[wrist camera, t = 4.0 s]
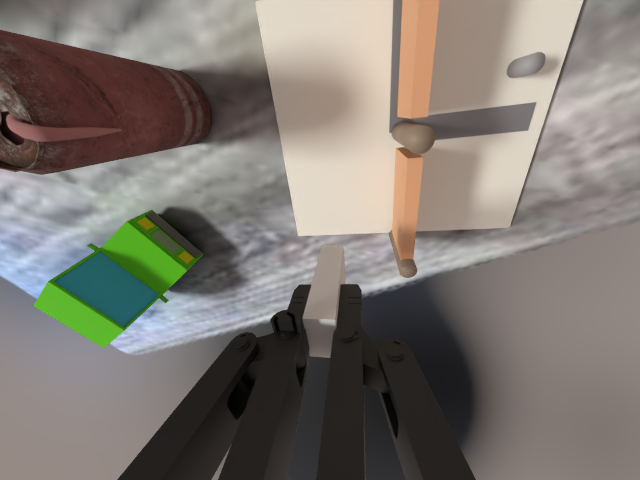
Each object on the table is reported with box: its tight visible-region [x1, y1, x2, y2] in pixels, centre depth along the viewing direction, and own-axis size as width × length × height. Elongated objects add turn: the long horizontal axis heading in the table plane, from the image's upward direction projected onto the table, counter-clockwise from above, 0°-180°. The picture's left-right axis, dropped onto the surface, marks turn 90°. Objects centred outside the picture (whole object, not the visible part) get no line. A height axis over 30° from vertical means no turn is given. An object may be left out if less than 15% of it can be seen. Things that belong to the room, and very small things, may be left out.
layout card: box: [255, 0, 583, 236], centre depth 19 cm, size 20×22×2 cm
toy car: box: [34, 210, 204, 348], centre depth 27 cm, size 10×13×10 cm
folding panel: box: [389, 147, 423, 278], centre depth 20 cm, size 10×1×7 cm, turn 7°
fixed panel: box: [392, 0, 440, 154], centre depth 14 cm, size 12×2×7 cm, turn 7°
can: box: [0, 30, 211, 175], centre depth 16 cm, size 6×6×14 cm
